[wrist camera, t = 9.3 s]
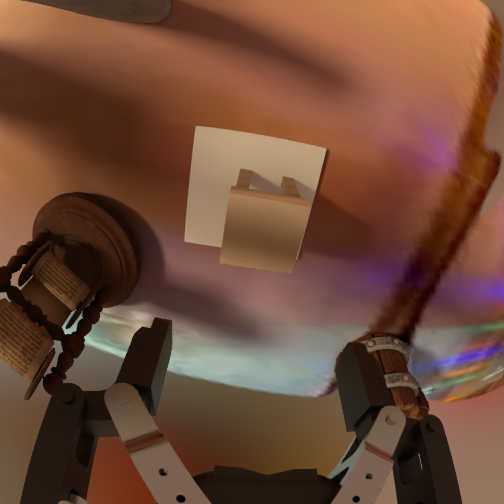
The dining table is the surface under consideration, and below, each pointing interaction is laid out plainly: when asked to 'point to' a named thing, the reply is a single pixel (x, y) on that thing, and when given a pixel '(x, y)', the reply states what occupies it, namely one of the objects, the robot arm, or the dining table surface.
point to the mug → (396, 373)
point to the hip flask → (115, 9)
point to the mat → (227, 171)
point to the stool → (263, 226)
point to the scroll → (64, 284)
